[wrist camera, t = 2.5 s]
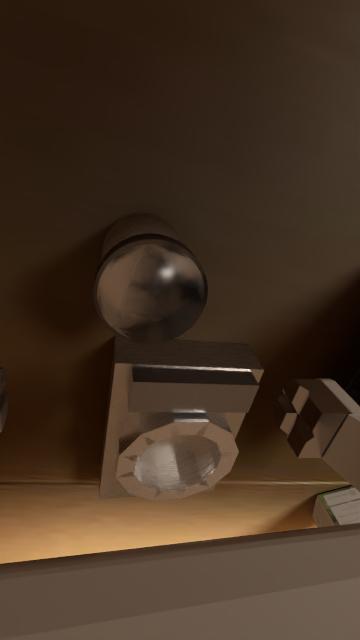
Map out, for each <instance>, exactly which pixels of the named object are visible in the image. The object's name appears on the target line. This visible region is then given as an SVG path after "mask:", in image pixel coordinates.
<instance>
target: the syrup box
mask: <svg viewBox="0 0 360 640" xmlns="http://www.w3.org/2000/svg"><path fill="white" fill-rule="evenodd" d="M312 518H313V520H314V522H315V524H316V525H317V527H327V526H336V525H345V524H353V523H360V492H359V491H358V490H357V489H356V488H354V487H353V486H349V487H345V488H341V489H337V490H334V491H330V492H326V493H322V494H319V495H317V498H316V500H315V504H314V509H313V513H312Z"/></svg>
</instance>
